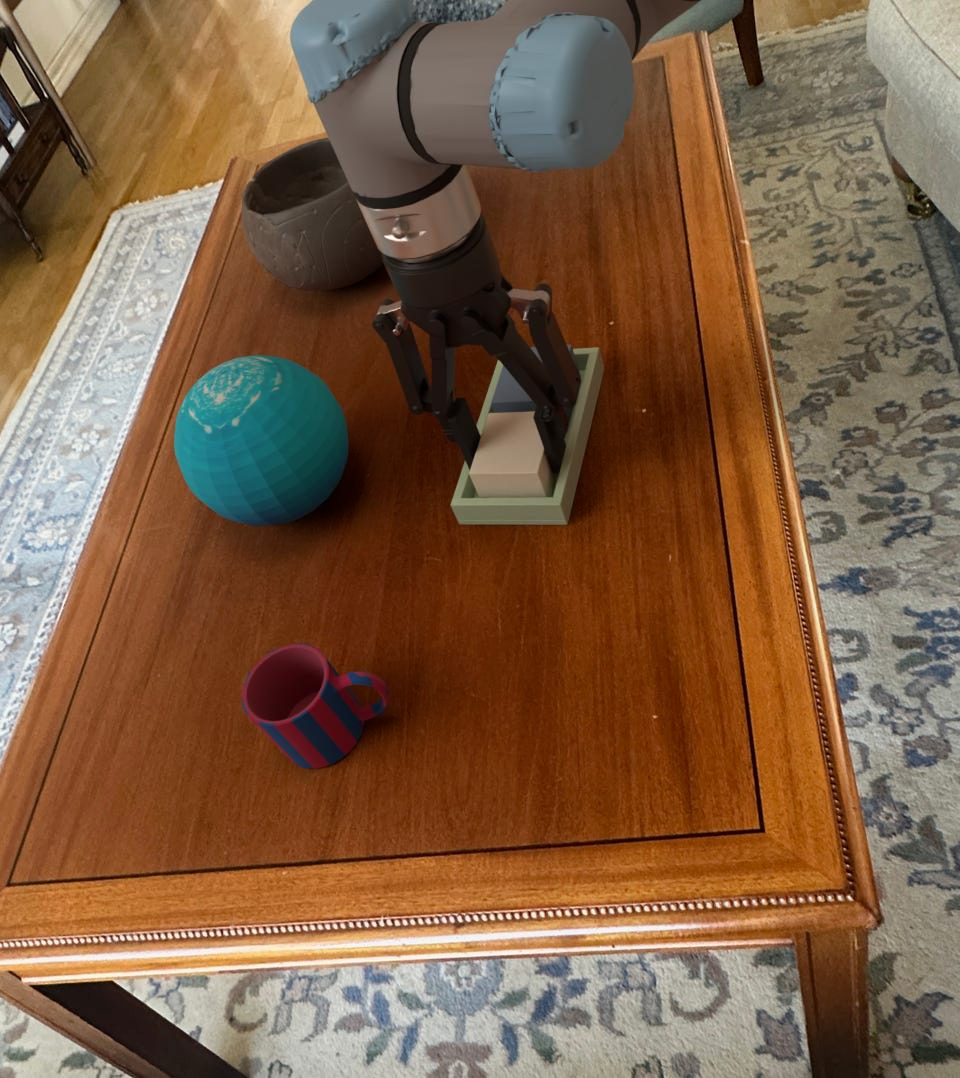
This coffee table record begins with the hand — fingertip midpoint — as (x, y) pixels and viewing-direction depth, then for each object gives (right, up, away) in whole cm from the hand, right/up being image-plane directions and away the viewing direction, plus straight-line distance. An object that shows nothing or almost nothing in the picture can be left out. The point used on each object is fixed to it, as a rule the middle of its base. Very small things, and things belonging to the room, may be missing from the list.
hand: (519, 461), depth 83 cm
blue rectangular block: (+2, +6, +6) cm, 8 cm away
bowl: (-18, +25, +31) cm, 44 cm away
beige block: (+1, -1, +1) cm, 1 cm away
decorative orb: (-20, -3, +9) cm, 22 cm away
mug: (-14, -21, -9) cm, 26 cm away
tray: (+2, +2, +4) cm, 5 cm away
